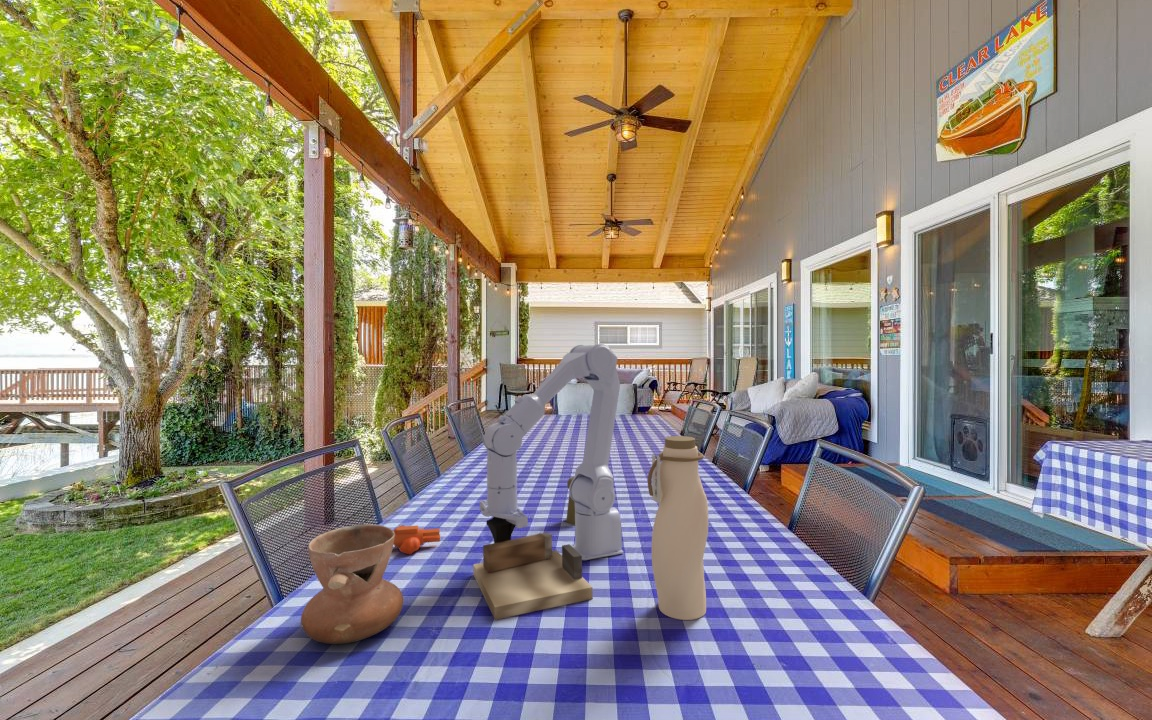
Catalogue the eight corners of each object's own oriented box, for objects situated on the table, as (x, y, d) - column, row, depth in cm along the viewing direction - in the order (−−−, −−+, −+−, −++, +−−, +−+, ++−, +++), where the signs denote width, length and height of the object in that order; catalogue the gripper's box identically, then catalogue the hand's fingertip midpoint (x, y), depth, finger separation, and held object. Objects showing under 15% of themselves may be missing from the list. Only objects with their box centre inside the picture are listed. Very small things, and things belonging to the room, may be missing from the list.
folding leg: (547, 551, 102) (547, 531, 102) (555, 557, 99) (554, 536, 99) (483, 566, 95) (482, 545, 95) (489, 572, 92) (488, 550, 92)
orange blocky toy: (440, 517, 113) (383, 522, 111) (437, 539, 106) (378, 544, 104) (440, 536, 115) (385, 540, 113) (438, 559, 108) (379, 564, 106)
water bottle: (671, 630, 76) (669, 446, 76) (637, 605, 84) (635, 437, 84) (722, 613, 81) (720, 440, 81) (685, 591, 89) (683, 432, 89)
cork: (587, 525, 124) (587, 480, 124) (563, 523, 125) (563, 479, 125) (591, 517, 130) (591, 474, 130) (569, 516, 131) (568, 474, 131)
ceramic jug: (390, 655, 71) (389, 554, 71) (280, 665, 69) (278, 562, 69) (413, 595, 89) (412, 515, 88) (326, 602, 86) (325, 519, 86)
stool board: (556, 560, 103) (556, 530, 103) (592, 598, 86) (592, 564, 86) (473, 574, 97) (472, 543, 97) (495, 619, 80) (494, 582, 80)
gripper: (465, 481, 100) (466, 549, 101) (504, 497, 89) (504, 573, 89) (496, 476, 105) (497, 541, 105) (536, 490, 94) (537, 562, 94)
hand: (502, 555), depth 97 cm, fingers closed, pressing on folding leg
